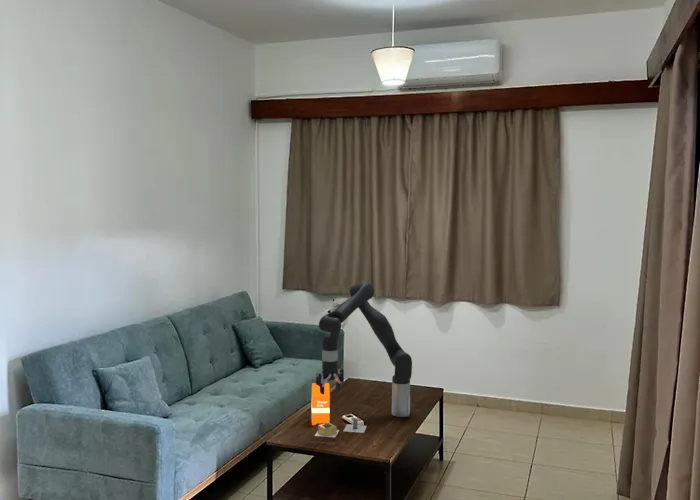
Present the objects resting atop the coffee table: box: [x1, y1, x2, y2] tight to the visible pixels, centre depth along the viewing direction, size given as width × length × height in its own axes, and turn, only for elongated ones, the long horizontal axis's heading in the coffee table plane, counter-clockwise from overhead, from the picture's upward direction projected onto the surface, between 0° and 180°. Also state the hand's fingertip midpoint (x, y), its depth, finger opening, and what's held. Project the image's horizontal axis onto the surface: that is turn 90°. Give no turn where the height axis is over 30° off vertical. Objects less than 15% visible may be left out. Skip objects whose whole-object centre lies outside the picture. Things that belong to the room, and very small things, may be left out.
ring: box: [317, 422, 338, 436], centre depth 315 cm, size 6×6×4 cm
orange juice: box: [311, 382, 331, 426], centre depth 331 cm, size 8×9×20 cm
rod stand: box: [343, 418, 368, 434], centre depth 321 cm, size 10×10×5 cm
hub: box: [314, 422, 340, 438], centre depth 315 cm, size 10×10×6 cm
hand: (330, 392), depth 314 cm, fingers open, 8 cm apart
